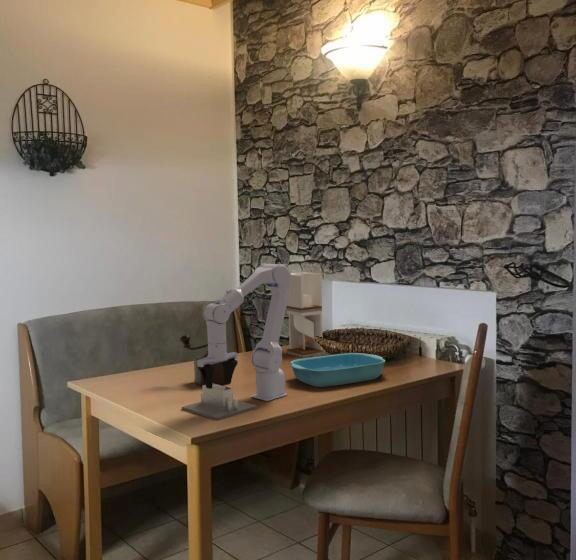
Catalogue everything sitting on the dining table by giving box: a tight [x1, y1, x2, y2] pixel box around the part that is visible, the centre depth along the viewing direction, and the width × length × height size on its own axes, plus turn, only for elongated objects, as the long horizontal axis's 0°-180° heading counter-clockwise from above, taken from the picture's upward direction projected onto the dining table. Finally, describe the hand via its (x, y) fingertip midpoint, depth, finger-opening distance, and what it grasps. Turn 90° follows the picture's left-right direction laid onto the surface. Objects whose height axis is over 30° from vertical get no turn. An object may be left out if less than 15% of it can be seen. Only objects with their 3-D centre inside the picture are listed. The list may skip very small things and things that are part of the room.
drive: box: [201, 384, 234, 410], centre depth 200 cm, size 4×10×6 cm, turn 46°
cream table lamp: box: [286, 271, 324, 359], centre depth 277 cm, size 11×11×35 cm
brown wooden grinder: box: [179, 334, 229, 388], centre depth 230 cm, size 16×11×18 cm
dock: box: [181, 393, 258, 421], centre depth 199 cm, size 16×17×4 cm
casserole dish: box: [290, 352, 386, 388], centre depth 234 cm, size 37×22×7 cm, turn 119°
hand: (218, 385), depth 199 cm, fingers open, 7 cm apart
